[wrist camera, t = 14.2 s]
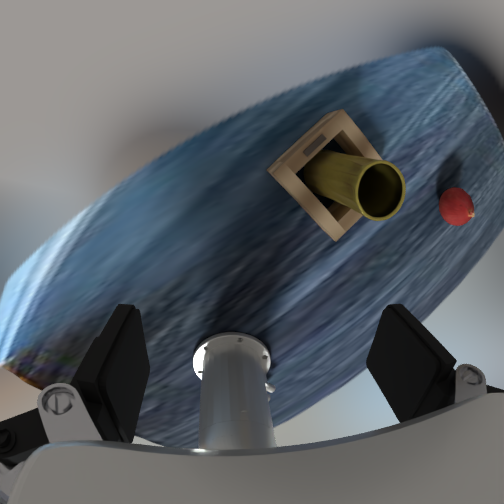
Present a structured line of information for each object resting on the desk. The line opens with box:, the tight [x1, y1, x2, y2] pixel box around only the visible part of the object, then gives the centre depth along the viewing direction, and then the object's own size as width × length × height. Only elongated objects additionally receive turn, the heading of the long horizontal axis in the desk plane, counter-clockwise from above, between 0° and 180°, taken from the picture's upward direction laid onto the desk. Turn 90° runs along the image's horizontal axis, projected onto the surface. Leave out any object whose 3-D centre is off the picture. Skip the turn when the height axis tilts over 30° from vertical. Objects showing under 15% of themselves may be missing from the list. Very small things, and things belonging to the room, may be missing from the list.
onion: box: [439, 187, 474, 226], centre depth 34 cm, size 6×6×8 cm
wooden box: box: [267, 109, 382, 242], centre depth 32 cm, size 11×11×5 cm
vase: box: [304, 149, 406, 221], centre depth 28 cm, size 6×6×14 cm
